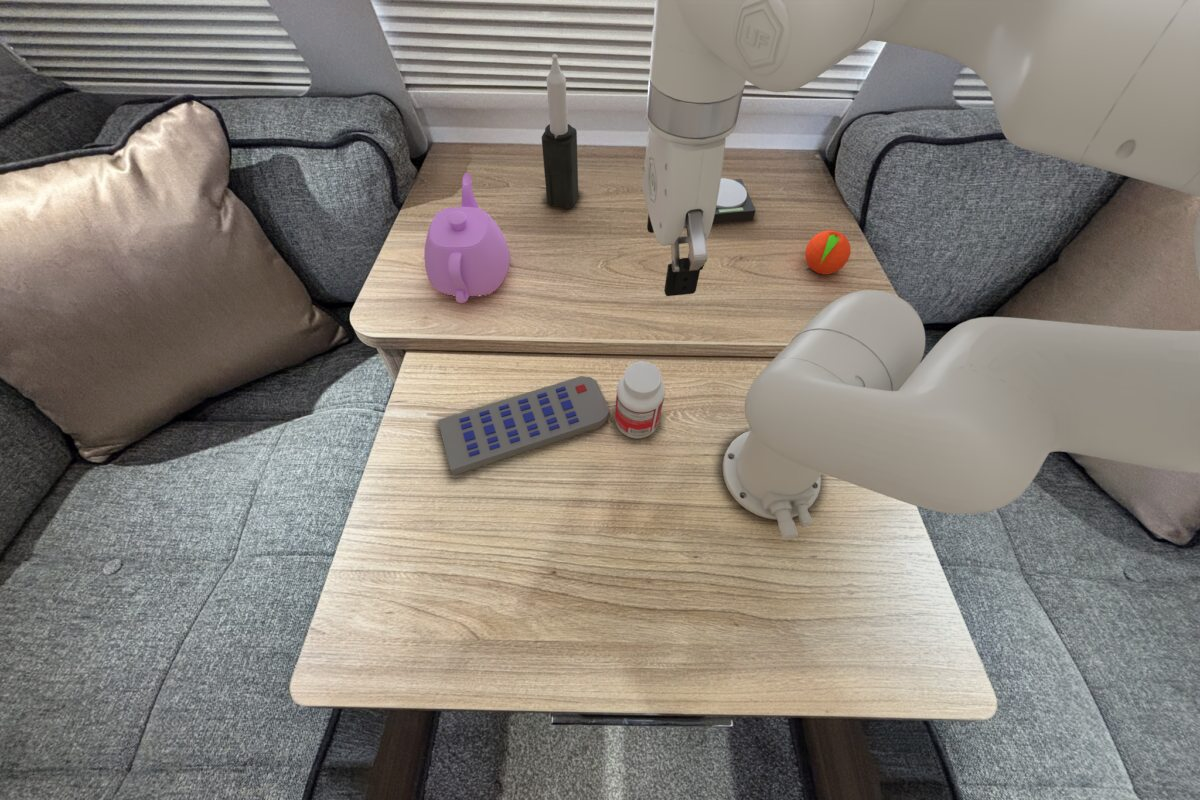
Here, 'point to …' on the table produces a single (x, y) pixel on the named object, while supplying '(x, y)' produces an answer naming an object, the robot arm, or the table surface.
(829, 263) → the clementine
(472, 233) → the teapot
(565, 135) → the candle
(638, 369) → the pill bottle
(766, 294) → the table surface
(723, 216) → the scale
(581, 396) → the remote control
